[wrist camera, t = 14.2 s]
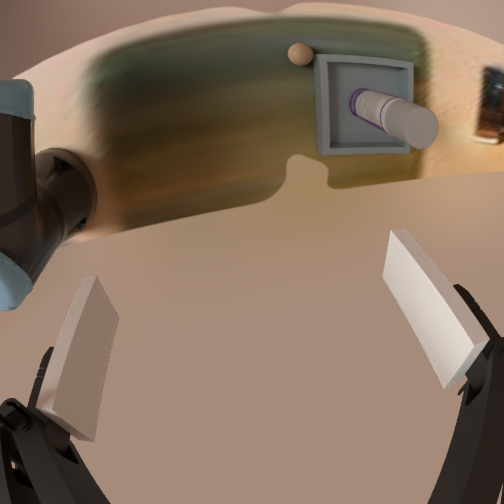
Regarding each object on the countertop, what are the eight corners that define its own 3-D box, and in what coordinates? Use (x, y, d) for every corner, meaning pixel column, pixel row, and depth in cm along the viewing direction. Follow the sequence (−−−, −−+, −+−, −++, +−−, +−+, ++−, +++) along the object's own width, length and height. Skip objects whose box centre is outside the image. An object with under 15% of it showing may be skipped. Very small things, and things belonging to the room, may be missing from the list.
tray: (316, 149, 41) (322, 155, 39) (312, 54, 33) (318, 54, 30) (400, 147, 41) (410, 153, 39) (402, 61, 33) (413, 62, 31)
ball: (286, 66, 34) (291, 66, 31) (284, 43, 32) (289, 42, 29) (310, 65, 34) (316, 65, 31) (308, 43, 32) (315, 42, 29)
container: (382, 106, 37) (445, 132, 25) (360, 125, 39) (416, 158, 26) (364, 81, 35) (425, 97, 23) (341, 101, 36) (395, 124, 24)
